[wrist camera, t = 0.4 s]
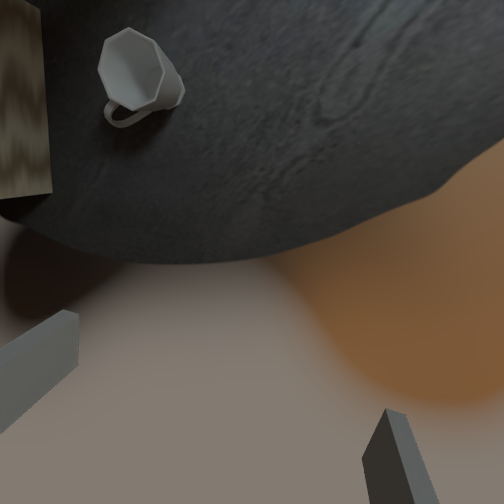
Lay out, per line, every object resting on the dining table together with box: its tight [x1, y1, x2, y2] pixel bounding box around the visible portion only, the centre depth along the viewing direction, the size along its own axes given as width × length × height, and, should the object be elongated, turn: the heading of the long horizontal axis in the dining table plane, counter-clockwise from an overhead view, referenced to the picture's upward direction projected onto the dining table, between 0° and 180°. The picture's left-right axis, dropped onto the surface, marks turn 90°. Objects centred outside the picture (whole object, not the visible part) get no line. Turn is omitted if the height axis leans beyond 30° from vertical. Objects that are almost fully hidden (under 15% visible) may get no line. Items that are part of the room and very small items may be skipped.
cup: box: [97, 27, 185, 128], centre depth 32 cm, size 7×10×8 cm
